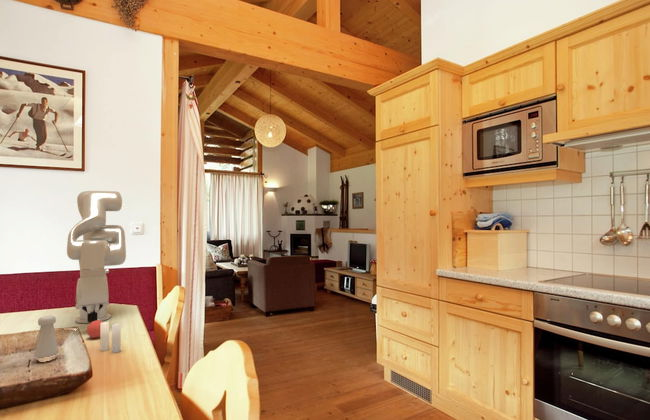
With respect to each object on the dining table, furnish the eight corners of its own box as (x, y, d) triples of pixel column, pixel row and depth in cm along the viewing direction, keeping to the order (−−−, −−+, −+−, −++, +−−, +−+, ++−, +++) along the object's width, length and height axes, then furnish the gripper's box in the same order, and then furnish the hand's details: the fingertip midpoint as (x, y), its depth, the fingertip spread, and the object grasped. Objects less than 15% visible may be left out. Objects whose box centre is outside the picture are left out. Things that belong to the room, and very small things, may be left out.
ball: (85, 337, 134) (85, 320, 134) (104, 334, 137) (104, 317, 138) (87, 341, 129) (87, 323, 129) (107, 337, 133) (107, 320, 133)
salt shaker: (45, 364, 109) (45, 319, 109) (29, 363, 110) (29, 318, 110) (63, 357, 114) (63, 314, 115) (47, 355, 116) (48, 313, 116)
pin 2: (111, 351, 119) (111, 324, 119) (119, 349, 121) (119, 322, 121) (112, 353, 117) (112, 325, 118) (121, 351, 119) (121, 324, 119)
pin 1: (99, 349, 121) (99, 322, 121) (108, 347, 122) (108, 321, 123) (101, 351, 119) (101, 324, 119) (109, 349, 121) (109, 322, 121)
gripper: (113, 271, 148) (113, 318, 147) (67, 274, 139) (67, 325, 138) (117, 272, 143) (117, 321, 142) (69, 276, 133) (69, 328, 132)
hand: (92, 323), depth 140 cm, fingers closed
